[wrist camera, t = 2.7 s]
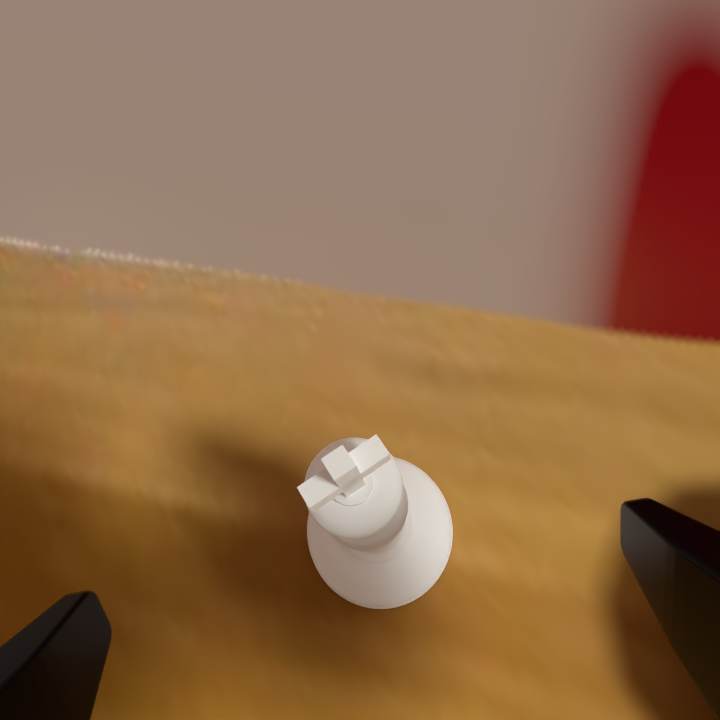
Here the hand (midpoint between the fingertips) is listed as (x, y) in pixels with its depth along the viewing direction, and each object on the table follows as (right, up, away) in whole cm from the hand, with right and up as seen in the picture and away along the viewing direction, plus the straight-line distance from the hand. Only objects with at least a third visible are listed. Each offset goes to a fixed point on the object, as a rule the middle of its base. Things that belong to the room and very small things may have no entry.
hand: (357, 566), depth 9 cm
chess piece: (+1, -2, +9) cm, 9 cm away
